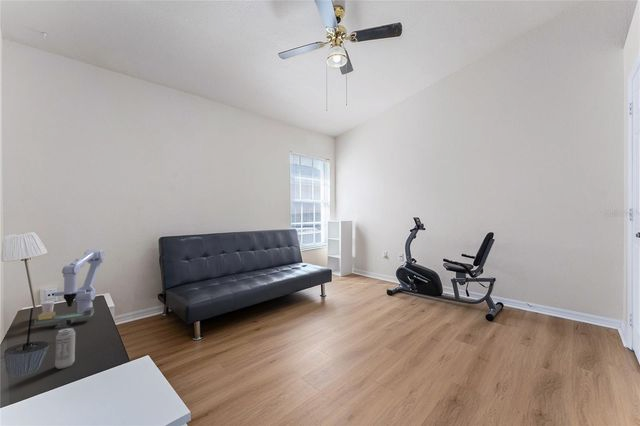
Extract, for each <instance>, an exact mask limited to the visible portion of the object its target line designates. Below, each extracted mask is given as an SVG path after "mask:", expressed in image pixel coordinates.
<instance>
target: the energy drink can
mask: <svg viewBox="0 0 640 426" xmlns="http://www.w3.org/2000/svg"><path fill="white" fill-rule="evenodd" d="M75 354H76V331H75V329H74V328H73V327H66V328H62V329H60V330H58V331H57V334H56V336H55V356H54V357H55V358H54V359H55V360H54V361H55V362H54V366H55V368H56V369H59V370H62V369H66V368H68V367H71V366H72V365H73V364H74V363H75V358H76V357H75V356H76V355H75Z"/></svg>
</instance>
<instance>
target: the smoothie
mask: <svg viewBox="0 0 640 426" xmlns="http://www.w3.org/2000/svg"><path fill="white" fill-rule="evenodd" d="M48 300H49V295H46V300H45V302H41V304H40V305H41V309H42V313H46V312H54V305H55V303H56V302H55V301H54V300H50V301H48Z"/></svg>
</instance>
